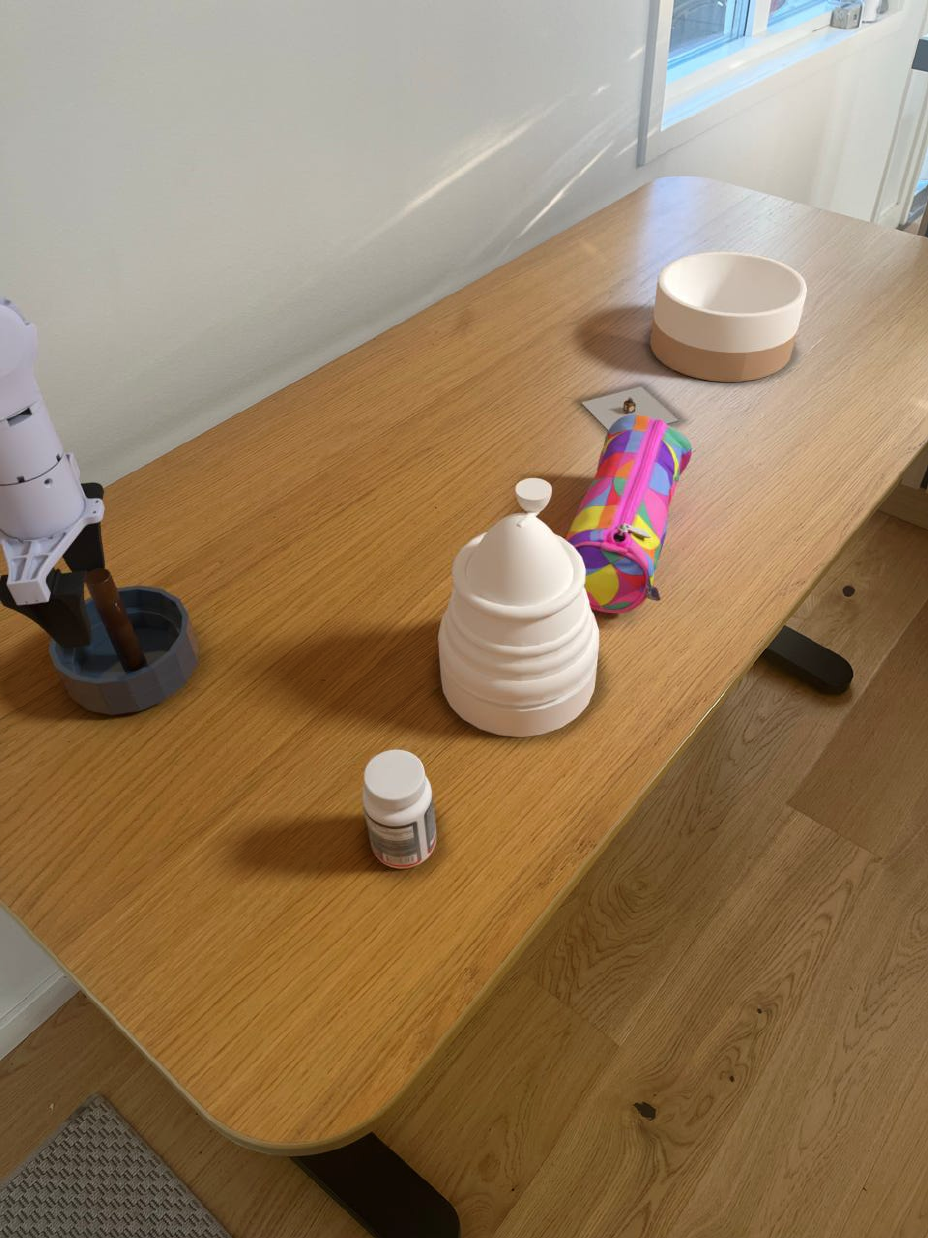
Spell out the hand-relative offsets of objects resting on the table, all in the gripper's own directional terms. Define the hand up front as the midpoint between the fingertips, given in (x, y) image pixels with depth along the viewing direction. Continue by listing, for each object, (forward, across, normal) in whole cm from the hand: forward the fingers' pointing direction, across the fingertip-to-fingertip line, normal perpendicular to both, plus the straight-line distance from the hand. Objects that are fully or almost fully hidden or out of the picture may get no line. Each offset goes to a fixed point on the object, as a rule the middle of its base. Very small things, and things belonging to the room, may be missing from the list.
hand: (84, 608), depth 70 cm
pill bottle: (+10, -18, -22) cm, 30 cm away
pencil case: (+10, +10, -46) cm, 48 cm away
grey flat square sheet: (+9, +33, -53) cm, 63 cm away
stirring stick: (+9, +2, -1) cm, 9 cm away
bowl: (+9, +45, -68) cm, 82 cm away
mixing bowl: (+9, +2, -1) cm, 10 cm away
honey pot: (+10, -4, -33) cm, 35 cm away
